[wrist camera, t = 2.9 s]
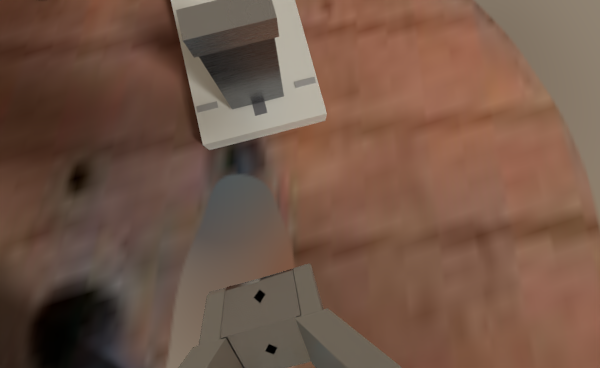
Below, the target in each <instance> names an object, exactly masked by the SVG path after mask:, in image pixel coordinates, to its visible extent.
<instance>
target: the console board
mask: <svg viewBox="0 0 600 368" xmlns="http://www.w3.org/2000/svg"><path fill="white" fill-rule="evenodd" d="M211 1H215V0H171V4H172V8H173V13H174V17H175V22H176V26H177V31H178V35H179V40H180V44H181V49H182V53H183V58H184V62H185V67H186V71H187V76H188V80H189V85H190V89H191V94H192V98H193V103H194V107H195V112H196V116H197V121H198V125H199V130H200V134H201V139H202V143H203V146H205V147H206V148H207V149H209V150H212V149H216V148H220V147H224V146H228V145H232V144H236V143H239V142H243V141H247V140H251V139H255V138H259V137H263V136H267V135H271V134H275V133H279V132H283V131H287V130H291V129H294V128H298V127H302V126H306V125H310V124H314V123H318V122H322V121H325V119H326V115H327V113H326V109H325V106H324V102H323V99H322V95H321V91H320V88H319V84H318V81H317V77H316V74H315V70H314V67H313V63H312V59H311V56H310V52H309V49H308V45H307V42H306V38H305V35H304V31H303V27H302V24H301V20H300V17H299V13H298V10H297V6H296V3H295V0H272V2H273V5H274V9H275V13H276V17H277V23H278V31H279V37H276V38H275V42H276V49H277V55H278V61H279V68H280V74H281V80H282V87H283V93H284V97H280V98H276V99H272V100H268V101H264V102H260V103H256V104H252V105H248V106H244V107H240V108H236V109H232V108H231V107H230V105H229V104H228V102H227V100H226V99H225V97H224V96H223V94H222V93H221V91H220V89H219V88H218V86H217V85H216V83H215V82H214V80H213V78H212V77H211V75H210V74H209V72H208V70H207V69H206V67H205V66H204V64H203V63H202V61H201V59H200V58H199V57H195V58H194V57H193V55H192V54H191V52H190V51H189V49H188V48H187V46H186V45H185V43H184V42H183V40H182V35H181V31H180V26H179V22H178V17H177V13H176V10H178V9H182V8H186V7H190V6H194V5H198V4H202V3H207V2H211Z"/></svg>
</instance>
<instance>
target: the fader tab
mask: <svg viewBox="0 0 600 368" xmlns="http://www.w3.org/2000/svg"><path fill="white" fill-rule="evenodd" d="M176 13H177V17H178V22H179V26H180V31H181V35H182V40H183V42H184V43H185V45H186V46H187V48H188V49H189V51H190V52H191V54H192V55H193V57H194V58H195V57H199V58H200V59H201V61H202V63H203V64H204V66H205V67H206V69H207V70H208V72H209V74H210V75H211V77H212V78H213V80H214V82H215V83H216V85H217V86H218V88H219V89H220V91H221V93H222V94H223V96H224V97H225V99H226V100H227V102H228V104H229V105H230V107H231V108H232V109H236V108H240V107H244V106H248V105H252V104H256V103H260V102H264V101H268V100H272V99H276V98H280V97H284V93H283V87H282V80H281V74H280V68H279V61H278V55H277V49H276V42H275V38H276V37H279V31H278V23H277V17H276V13H275V9H274V5H273V2H272V0H215V1H211V2H207V3H202V4H198V5H194V6H190V7H186V8H182V9H178V10H176Z"/></svg>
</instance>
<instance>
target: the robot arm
mask: <svg viewBox="0 0 600 368" xmlns="http://www.w3.org/2000/svg"><path fill="white" fill-rule="evenodd" d="M307 362H312V364H313V365H314V366H315V367H316V368H401V366H399V365H398V364H397V363H396V362H394V361H393V360H392V359H391V358H389V357H388V356H387V355H386V354H384V353H383V352H382V351H381V350H379V349H378V348H377V347H376V346H374V345H373V344H372V343H370V342H369V341H368V340H367V339H365V338H364V337H363V336H362V335H360V334H359V333H358V332H357V331H355V330H354V329H353V328H352V327H350V326H349V325H348V324H347V323H345V322H344V321H343V320H342V319H340V318H339V317H338V316H337V315H335V314H334V313H333V312H332V311H330V310H329V309H324V308H323V305H322V301H321V298H320V294H319V291H318V288H317V284H316V281H315V277H314V274H313V270H312V267H311V264H306V265H303V266H300V267H296V268H294V269H290V270H287V271H283V272H280V273H276V274H273V275H270V276H266V277H263V278H260V279H256V280H253V281H249V282H245V283H241V284H237V285H233V286H229V287H227V288H223V289H219V290H215V291H211V292H209V294H208V296H207V299H206V305H205V311H204V317H203V323H202V329H201V335H200V341H199V346H196V347H193V348H192V350H191V351H190V352H189V354H188V355H187V356H186V358H185V359H184V361H183V362H182V363H181V365H180V366H179V367H178V368H288V367H291V366H295V365H299V364H303V363H307Z"/></svg>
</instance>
